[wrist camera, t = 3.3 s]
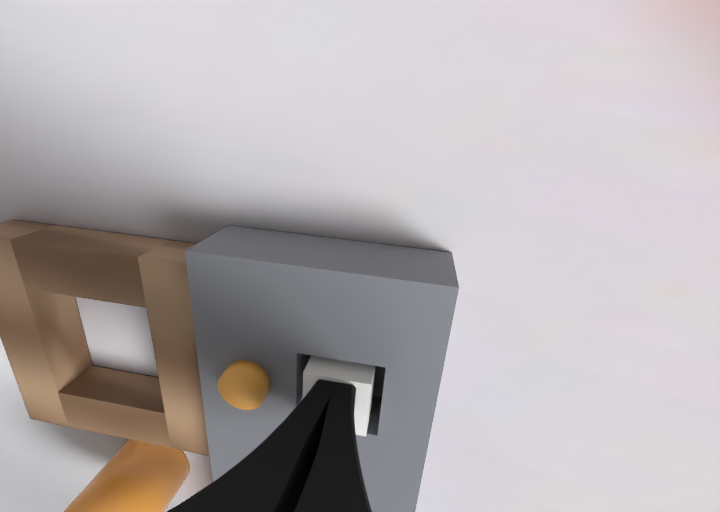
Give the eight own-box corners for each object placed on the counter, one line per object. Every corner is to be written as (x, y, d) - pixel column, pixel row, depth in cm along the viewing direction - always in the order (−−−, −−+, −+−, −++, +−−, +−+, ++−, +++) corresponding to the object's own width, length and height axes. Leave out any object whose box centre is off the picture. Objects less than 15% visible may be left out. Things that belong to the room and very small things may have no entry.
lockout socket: (233, 423, 19) (213, 456, 17) (65, 391, 20) (30, 418, 18) (219, 246, 15) (191, 264, 13) (14, 219, 17) (-38, 233, 15)
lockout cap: (193, 488, 22) (114, 616, 16) (132, 475, 22) (36, 594, 17) (185, 440, 20) (96, 562, 15) (121, 426, 21) (11, 540, 15)
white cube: (374, 388, 15) (366, 436, 13) (319, 379, 16) (302, 424, 13) (379, 341, 15) (371, 384, 12) (321, 332, 15) (302, 373, 13)
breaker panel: (394, 567, 21) (389, 650, 18) (250, 533, 22) (220, 606, 19) (451, 252, 14) (460, 296, 10) (228, 225, 15) (173, 257, 12)
